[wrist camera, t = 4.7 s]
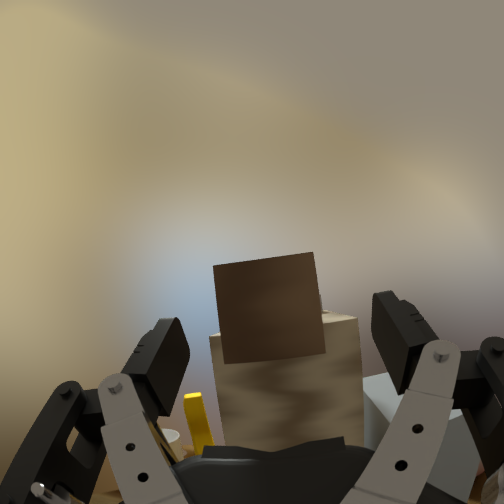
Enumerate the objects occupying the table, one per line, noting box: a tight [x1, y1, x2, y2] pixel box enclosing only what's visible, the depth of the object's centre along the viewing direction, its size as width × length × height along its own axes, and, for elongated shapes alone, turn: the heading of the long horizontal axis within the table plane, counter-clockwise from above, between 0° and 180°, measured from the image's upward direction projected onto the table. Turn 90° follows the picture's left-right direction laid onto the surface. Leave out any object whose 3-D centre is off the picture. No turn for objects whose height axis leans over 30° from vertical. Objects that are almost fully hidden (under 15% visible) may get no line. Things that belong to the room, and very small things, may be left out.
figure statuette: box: [183, 392, 215, 455], centre depth 34 cm, size 18×8×22 cm, turn 12°
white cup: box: [161, 429, 184, 461], centre depth 42 cm, size 8×8×10 cm
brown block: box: [213, 252, 326, 364], centre depth 22 cm, size 8×28×3 cm, turn 172°
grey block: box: [363, 372, 480, 503], centre depth 22 cm, size 9×18×22 cm, turn 172°
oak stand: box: [209, 310, 364, 452], centre depth 24 cm, size 10×18×32 cm, turn 172°
